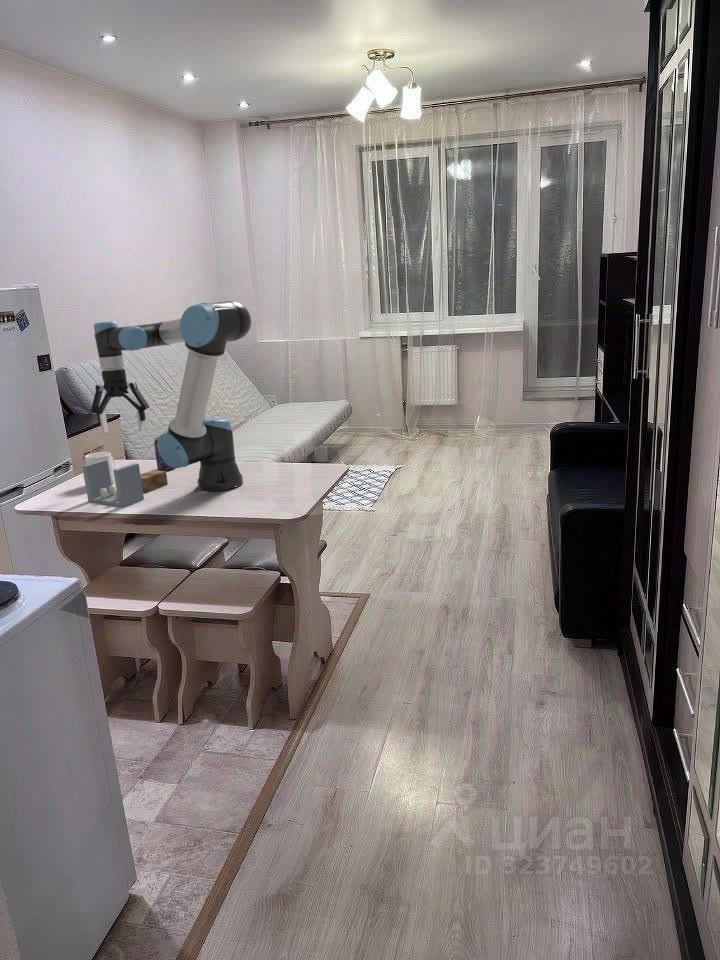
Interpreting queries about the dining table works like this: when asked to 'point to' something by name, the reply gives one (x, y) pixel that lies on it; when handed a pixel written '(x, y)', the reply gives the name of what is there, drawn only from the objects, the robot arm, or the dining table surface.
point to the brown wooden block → (153, 480)
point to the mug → (102, 456)
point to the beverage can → (160, 461)
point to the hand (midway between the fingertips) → (123, 431)
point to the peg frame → (107, 493)
